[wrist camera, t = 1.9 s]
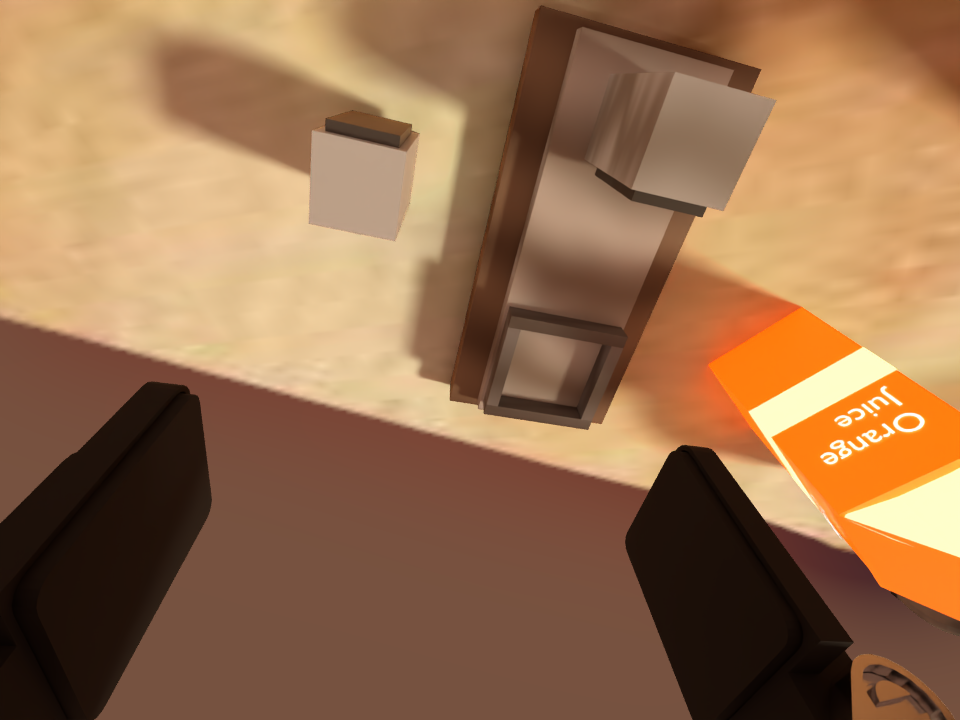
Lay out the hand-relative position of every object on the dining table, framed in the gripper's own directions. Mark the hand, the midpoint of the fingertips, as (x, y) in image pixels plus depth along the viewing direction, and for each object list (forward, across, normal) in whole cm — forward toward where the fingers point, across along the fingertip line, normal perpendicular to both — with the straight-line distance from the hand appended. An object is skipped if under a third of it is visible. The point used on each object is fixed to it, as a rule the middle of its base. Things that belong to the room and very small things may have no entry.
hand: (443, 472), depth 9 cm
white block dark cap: (+23, +4, -2) cm, 24 cm away
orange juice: (+23, -28, +8) cm, 37 cm away
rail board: (+23, -9, +1) cm, 25 cm away
